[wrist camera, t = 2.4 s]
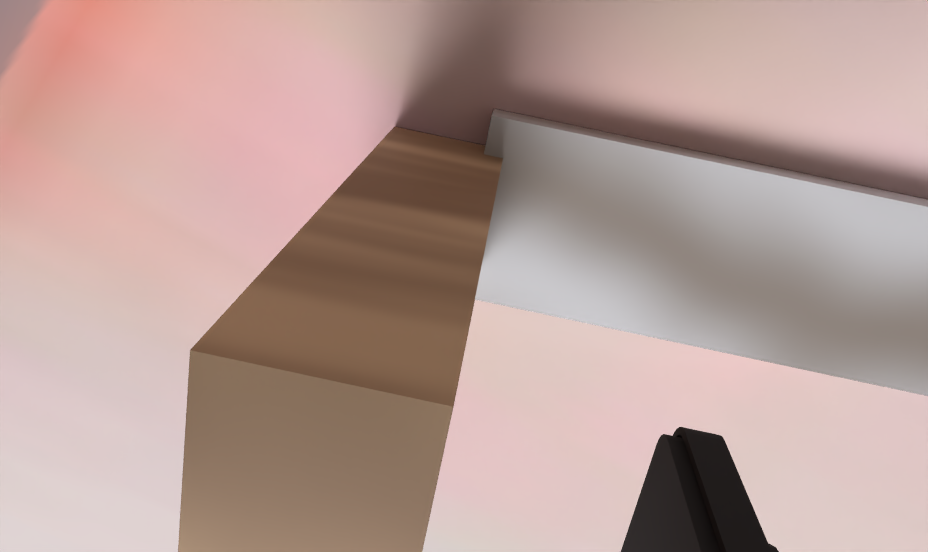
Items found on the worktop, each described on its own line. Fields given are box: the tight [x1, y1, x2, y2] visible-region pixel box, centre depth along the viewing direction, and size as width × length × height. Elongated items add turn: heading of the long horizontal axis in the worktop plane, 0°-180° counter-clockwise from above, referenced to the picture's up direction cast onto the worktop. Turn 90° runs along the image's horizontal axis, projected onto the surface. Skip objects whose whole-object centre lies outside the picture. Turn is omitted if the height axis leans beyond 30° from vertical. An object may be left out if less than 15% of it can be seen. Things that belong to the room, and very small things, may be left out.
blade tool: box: [178, 109, 928, 552], centre depth 15 cm, size 5×18×13 cm, turn 79°
